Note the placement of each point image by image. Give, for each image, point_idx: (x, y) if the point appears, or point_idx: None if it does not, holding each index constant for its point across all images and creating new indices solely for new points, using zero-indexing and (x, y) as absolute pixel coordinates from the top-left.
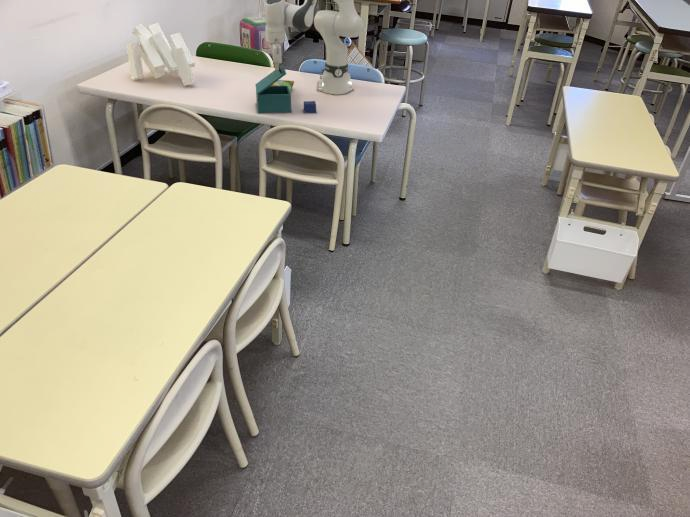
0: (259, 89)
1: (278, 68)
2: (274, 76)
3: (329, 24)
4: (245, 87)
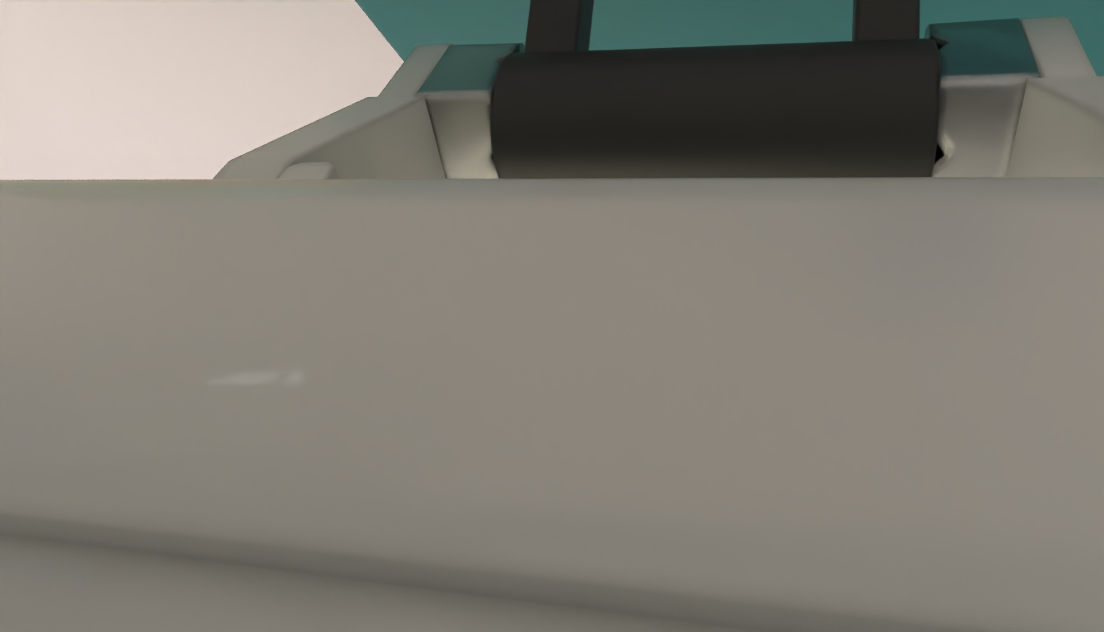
0: None
1: (1069, 53)
2: (815, 36)
3: None
4: (124, 177)
